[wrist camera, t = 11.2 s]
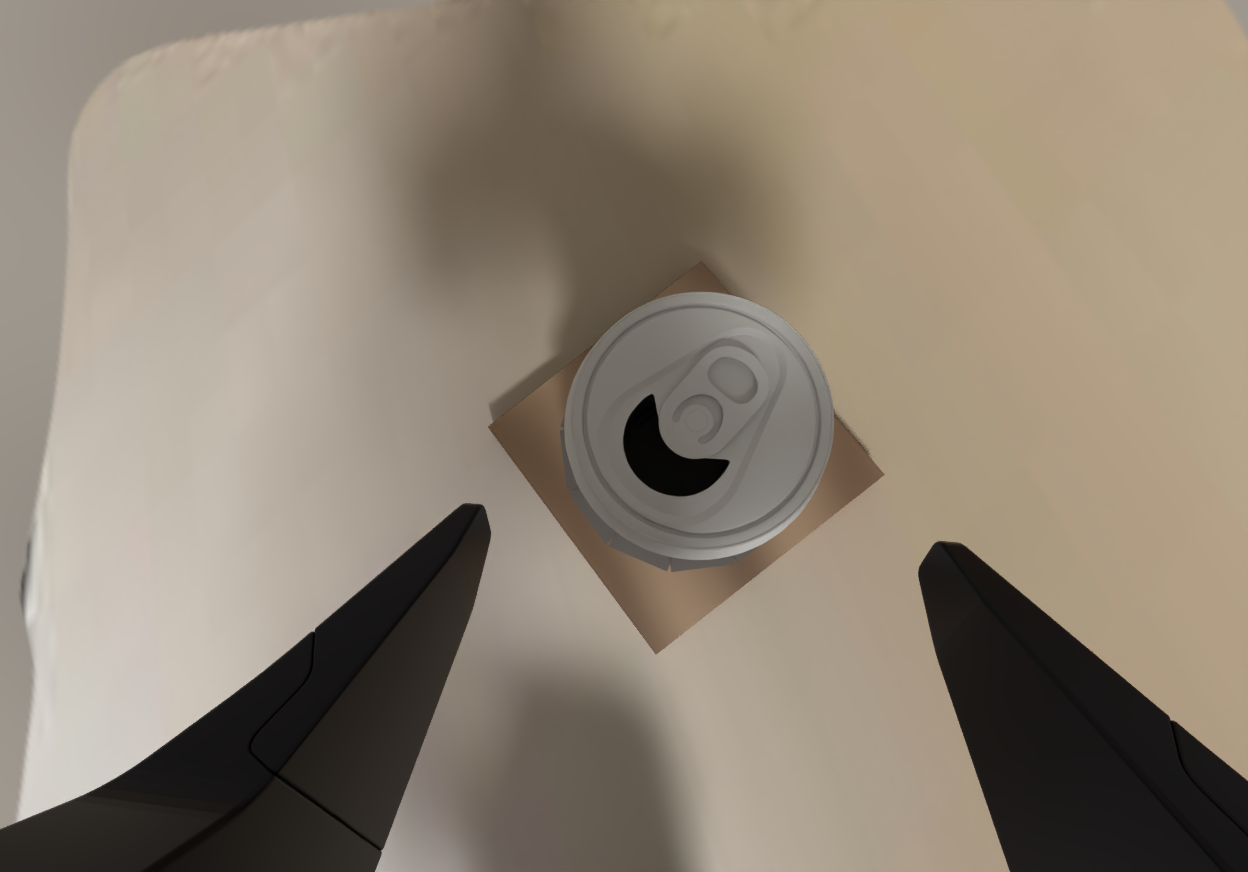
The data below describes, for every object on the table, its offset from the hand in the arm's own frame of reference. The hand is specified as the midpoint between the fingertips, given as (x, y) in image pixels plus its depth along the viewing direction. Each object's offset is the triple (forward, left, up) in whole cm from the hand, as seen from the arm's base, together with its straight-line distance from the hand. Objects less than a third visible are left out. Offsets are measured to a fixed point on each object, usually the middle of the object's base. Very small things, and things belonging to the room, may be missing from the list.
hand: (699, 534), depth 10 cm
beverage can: (+2, +2, -12) cm, 13 cm away
